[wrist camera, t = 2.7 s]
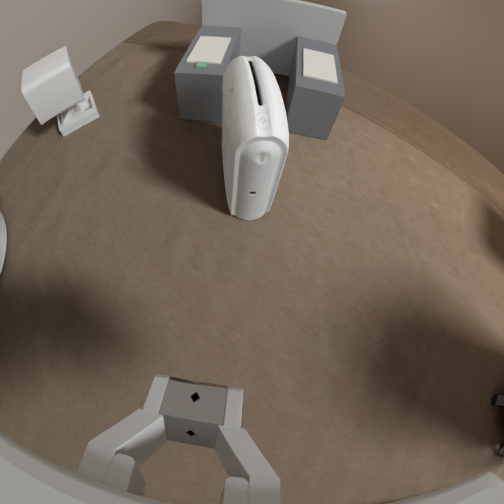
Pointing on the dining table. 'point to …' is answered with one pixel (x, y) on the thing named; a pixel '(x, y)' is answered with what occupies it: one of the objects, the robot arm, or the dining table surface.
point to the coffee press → (500, 401)
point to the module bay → (267, 59)
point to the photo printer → (252, 136)
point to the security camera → (58, 92)
